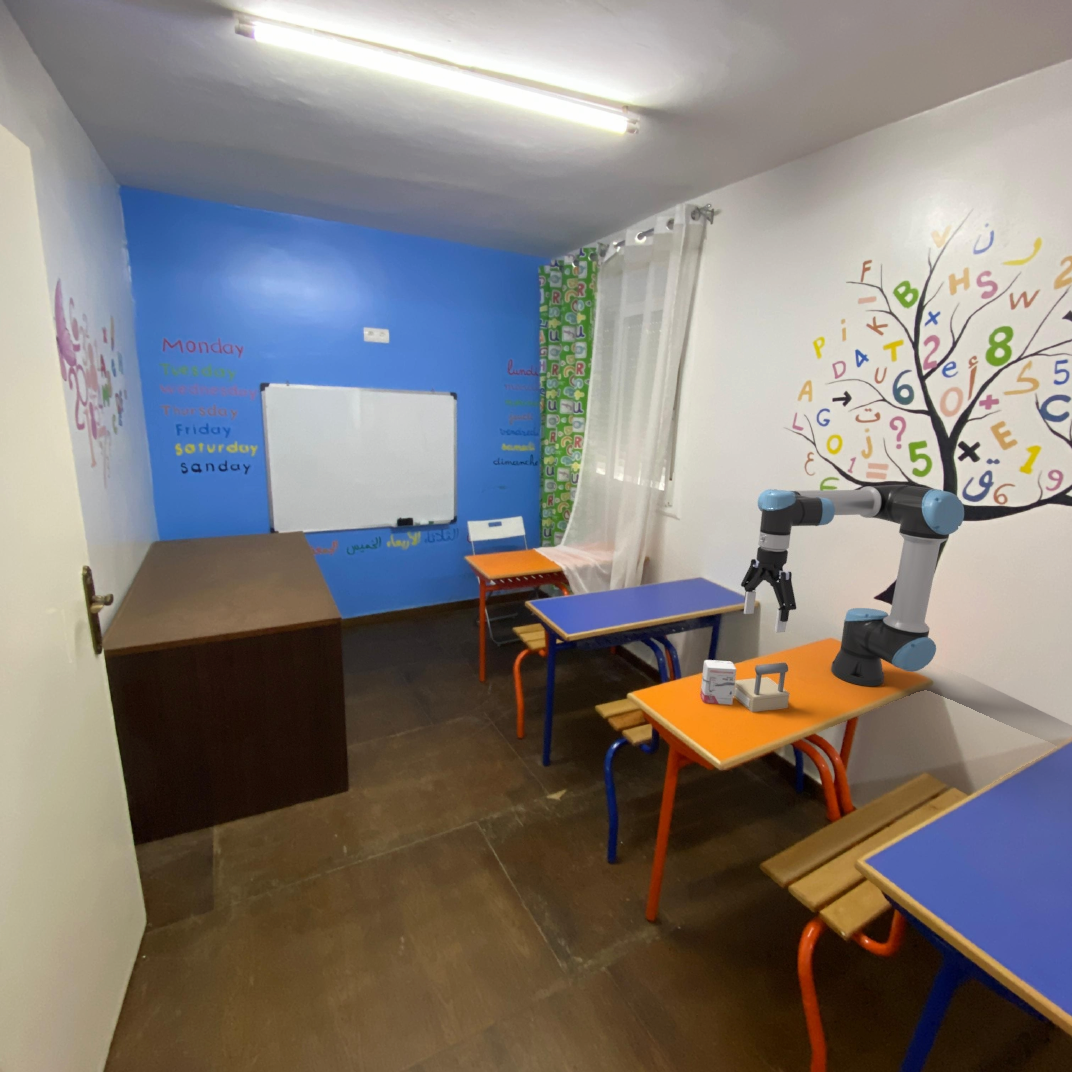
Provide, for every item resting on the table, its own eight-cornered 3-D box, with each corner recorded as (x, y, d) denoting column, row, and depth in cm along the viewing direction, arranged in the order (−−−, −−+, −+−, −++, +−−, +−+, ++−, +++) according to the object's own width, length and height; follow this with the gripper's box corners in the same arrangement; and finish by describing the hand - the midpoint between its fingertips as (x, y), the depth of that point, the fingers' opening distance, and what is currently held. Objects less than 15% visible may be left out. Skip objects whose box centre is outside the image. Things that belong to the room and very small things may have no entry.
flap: (767, 679, 166) (771, 650, 164) (789, 695, 157) (793, 664, 154) (733, 682, 163) (736, 653, 161) (753, 699, 154) (757, 668, 152)
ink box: (703, 703, 159) (706, 667, 156) (699, 695, 164) (703, 659, 161) (732, 705, 158) (737, 668, 156) (728, 696, 163) (732, 661, 160)
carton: (765, 690, 167) (767, 679, 166) (787, 707, 158) (789, 695, 157) (731, 694, 164) (732, 683, 163) (751, 712, 155) (752, 700, 154)
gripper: (733, 537, 154) (725, 607, 159) (792, 561, 131) (781, 641, 135) (756, 537, 156) (748, 605, 161) (818, 559, 132) (807, 639, 137)
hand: (763, 622), depth 148 cm, fingers open, 13 cm apart
